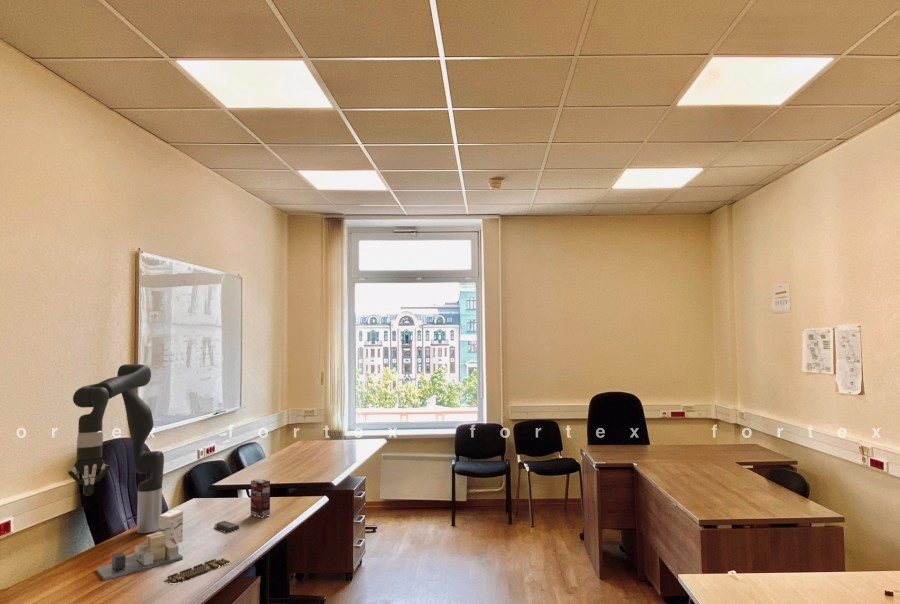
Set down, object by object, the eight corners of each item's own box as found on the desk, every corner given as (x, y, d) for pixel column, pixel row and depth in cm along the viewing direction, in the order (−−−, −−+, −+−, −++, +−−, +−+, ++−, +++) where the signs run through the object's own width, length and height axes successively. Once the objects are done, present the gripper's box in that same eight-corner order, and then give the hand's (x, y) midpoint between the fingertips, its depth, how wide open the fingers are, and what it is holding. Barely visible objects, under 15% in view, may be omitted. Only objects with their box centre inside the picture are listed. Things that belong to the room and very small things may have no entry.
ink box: (168, 547, 213) (168, 516, 214) (157, 547, 214) (157, 516, 215) (183, 539, 222) (183, 510, 223) (172, 539, 223) (173, 509, 224)
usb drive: (228, 533, 229) (228, 527, 229) (212, 528, 236) (212, 522, 236) (239, 530, 233) (239, 523, 233) (223, 525, 240) (223, 519, 241)
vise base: (95, 570, 192) (96, 555, 192) (171, 551, 209) (172, 537, 209) (103, 580, 183) (104, 565, 184) (182, 559, 200) (182, 545, 201)
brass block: (146, 557, 200) (146, 535, 201) (161, 554, 203) (161, 532, 204) (150, 561, 196) (150, 538, 197) (165, 557, 200) (165, 535, 201)
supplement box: (249, 515, 253) (250, 480, 254) (258, 513, 256) (259, 478, 258) (261, 518, 248) (261, 482, 249) (270, 515, 252) (270, 480, 253)
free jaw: (109, 563, 195) (109, 551, 195) (143, 554, 202) (143, 543, 203) (118, 572, 186) (118, 560, 187) (153, 563, 194) (153, 551, 194)
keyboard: (174, 588, 177) (174, 581, 178) (159, 582, 182) (159, 575, 183) (233, 564, 196) (233, 559, 196) (218, 560, 201) (218, 554, 201)
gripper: (109, 441, 198) (107, 489, 197) (65, 446, 189) (63, 497, 188) (114, 443, 193) (112, 493, 191) (69, 448, 184) (67, 501, 182)
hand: (88, 495), depth 190 cm, fingers closed
